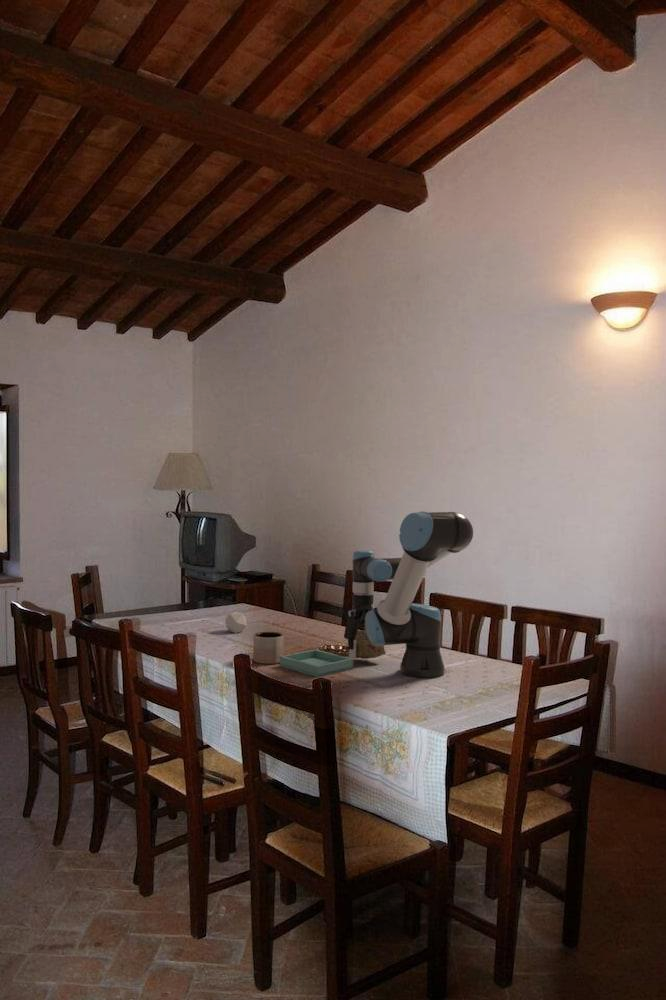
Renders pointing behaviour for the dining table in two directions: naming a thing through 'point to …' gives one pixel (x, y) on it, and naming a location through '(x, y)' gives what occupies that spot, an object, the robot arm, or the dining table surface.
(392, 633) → the robot arm
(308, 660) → the glazed dish
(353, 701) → the dining table surface
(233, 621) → the die
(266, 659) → the planter
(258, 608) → the dining table surface
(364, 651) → the rock
